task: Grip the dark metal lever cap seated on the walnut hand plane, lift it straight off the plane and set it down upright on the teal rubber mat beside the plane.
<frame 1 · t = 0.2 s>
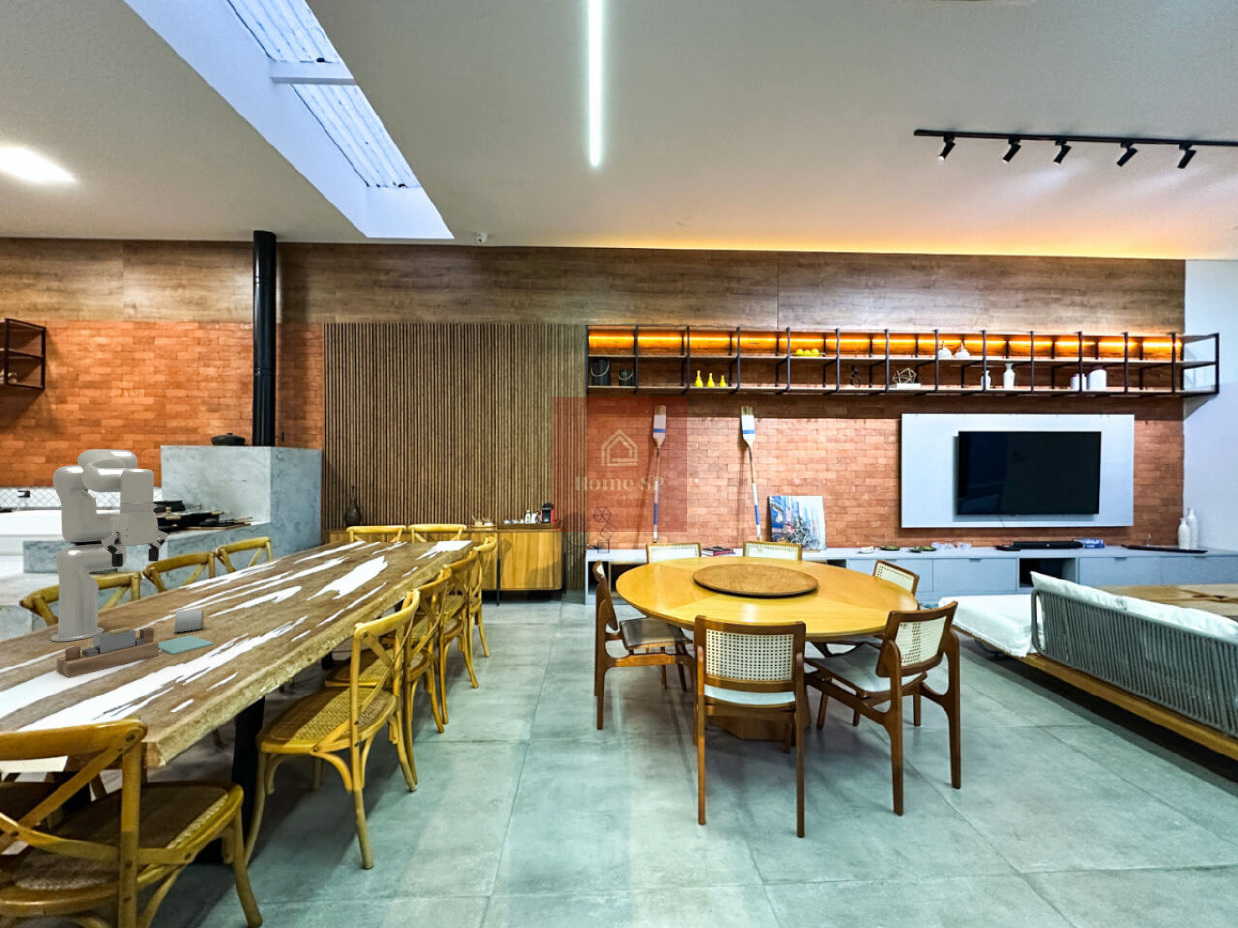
hand: (135, 563, 157), 30 cm above the table, tool pointing down, fingers open, 9 cm apart
lever cap: (114, 649, 155), point 4 cm above the table, touching plane body
mat: (182, 645, 170), on the table
ceramic mug: (188, 630, 186), on the table
plane body: (109, 663, 154), on the table
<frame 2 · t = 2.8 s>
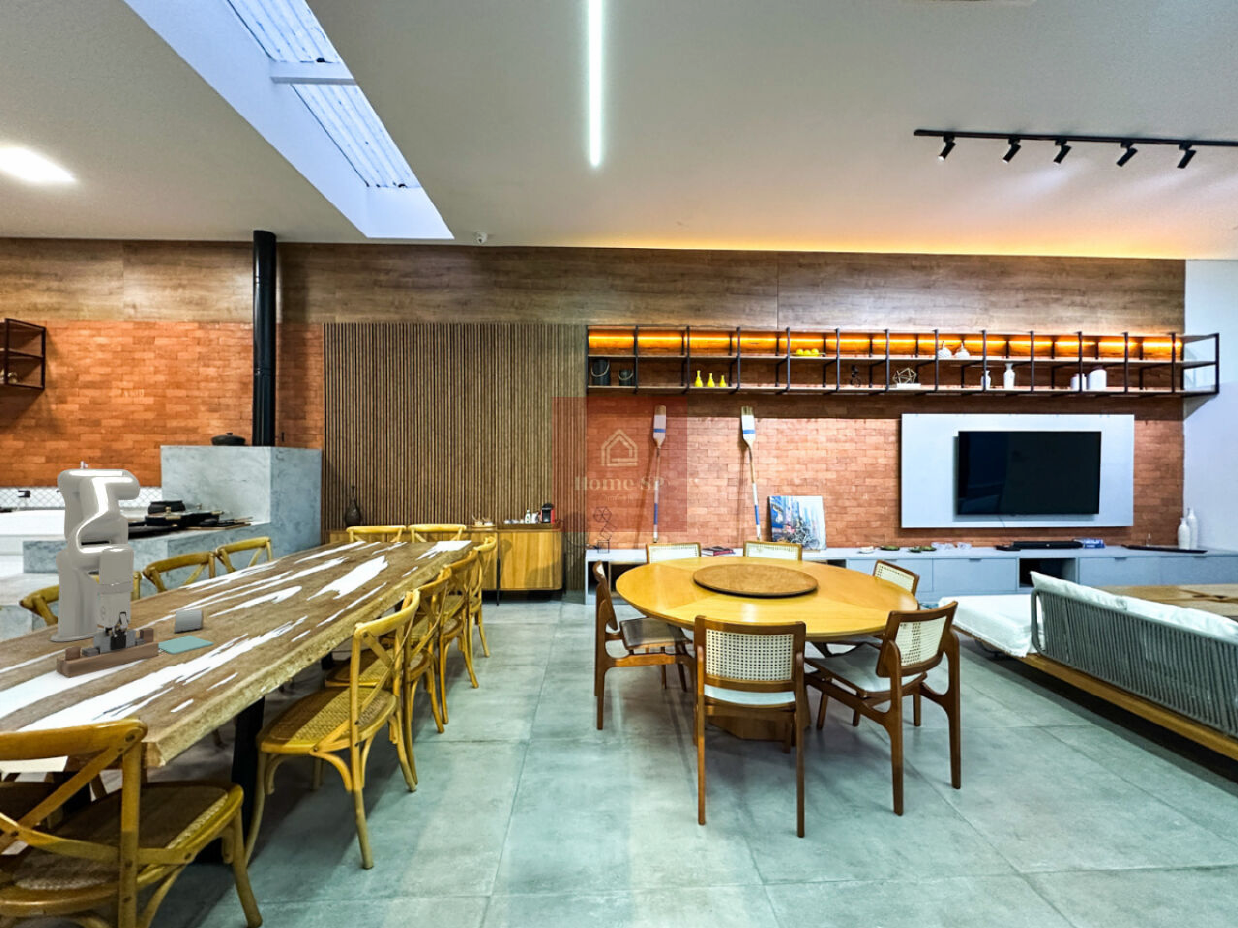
hand: (114, 646, 155), 5 cm above the table, tool pointing down, fingers closed on lever cap, 5 cm apart
lever cap: (114, 649, 155), point 4 cm above the table, touching gripper, plane body
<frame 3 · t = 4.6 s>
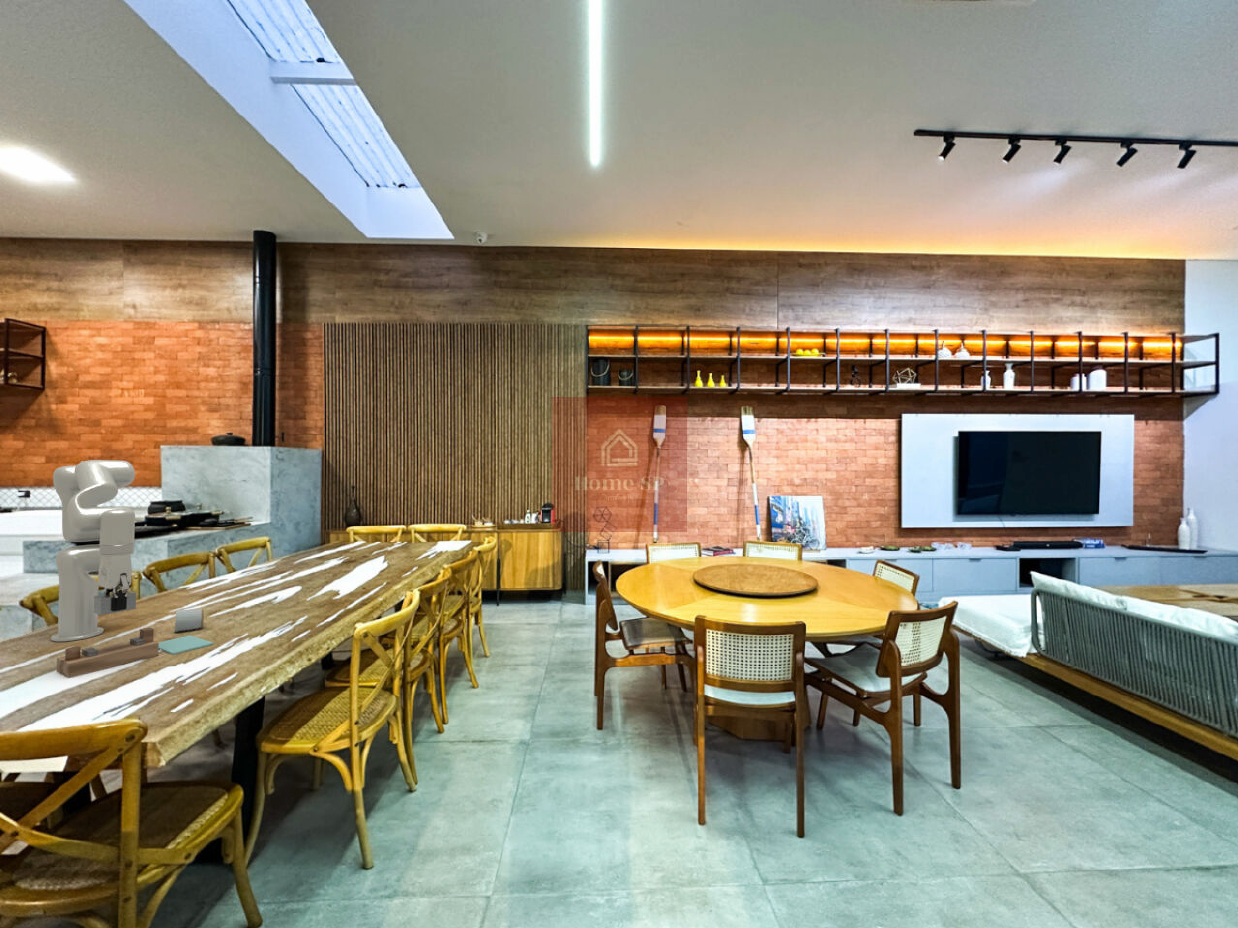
hand: (115, 608, 155), 16 cm above the table, tool pointing down, fingers closed on lever cap, 5 cm apart
lever cap: (115, 610, 155), point 16 cm above the table, touching gripper
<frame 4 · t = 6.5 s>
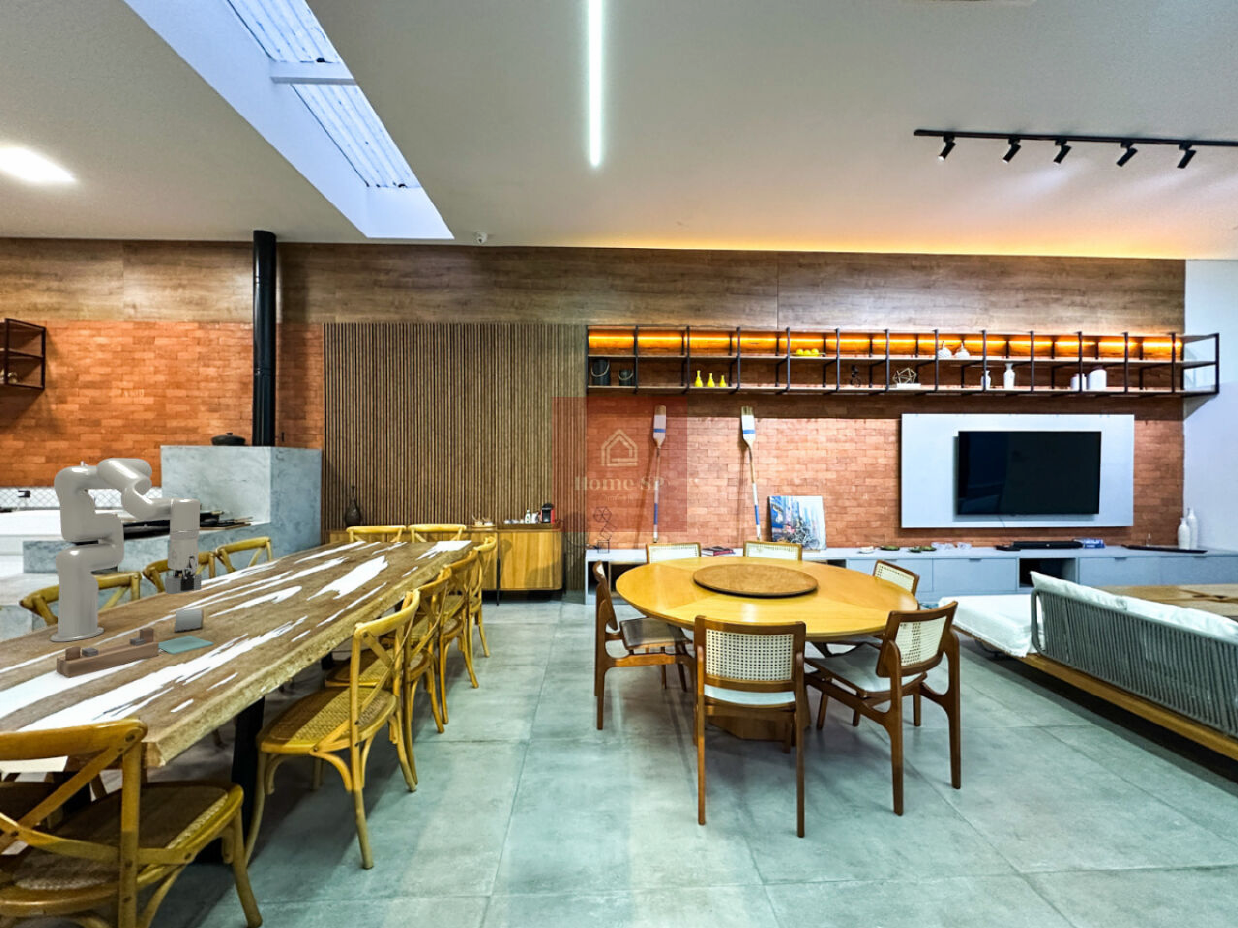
hand: (183, 588, 170), 19 cm above the table, tool pointing down, fingers closed on lever cap, 5 cm apart
lever cap: (183, 590, 170), point 18 cm above the table, touching gripper
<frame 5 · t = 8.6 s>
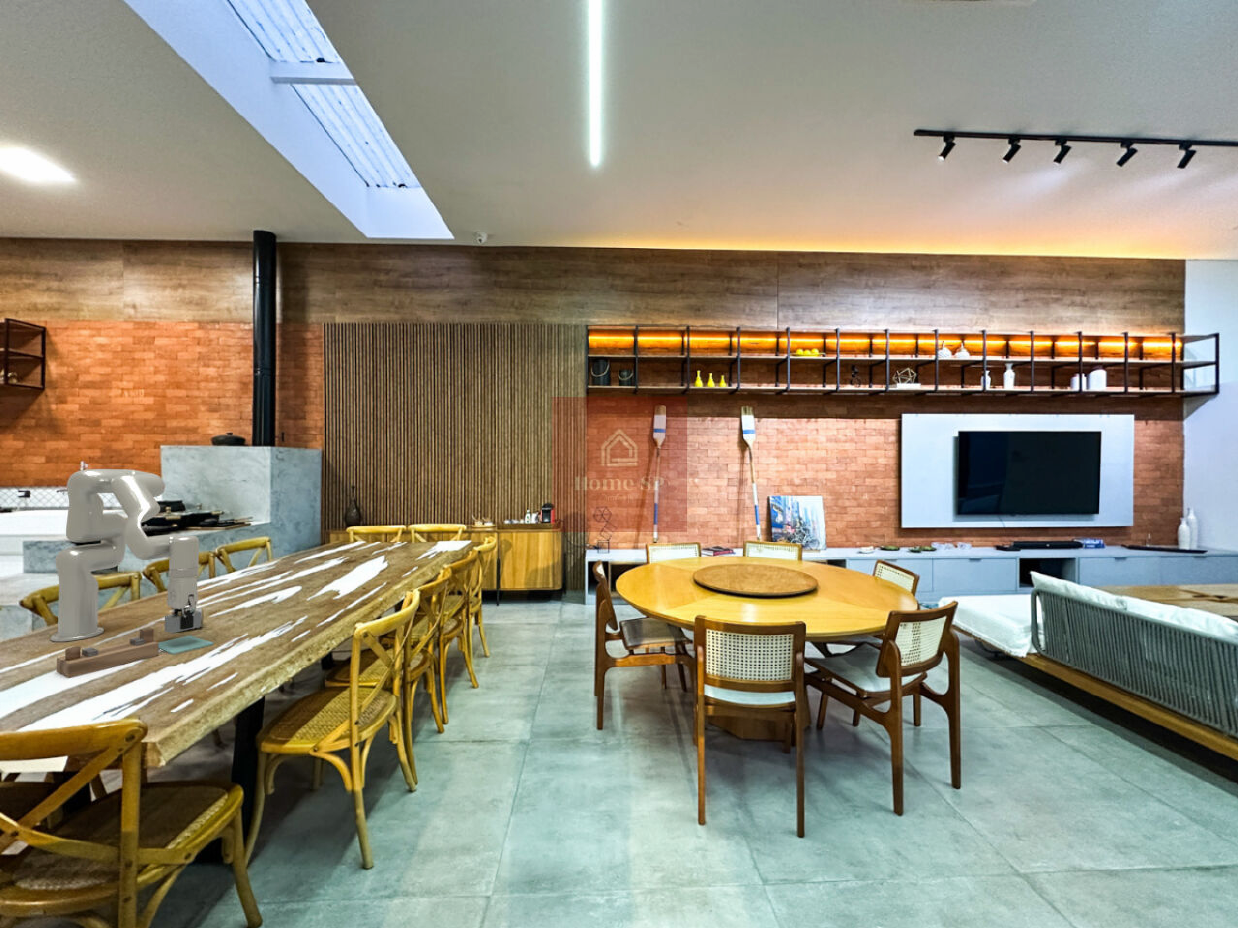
hand: (182, 626, 170), 6 cm above the table, tool pointing down, fingers closed on lever cap, 5 cm apart
lever cap: (182, 628, 170), point 6 cm above the table, touching gripper
when the fingers open (2 cm above the table, at t = 10.3 s): lever cap stays where it is, resting on mat.
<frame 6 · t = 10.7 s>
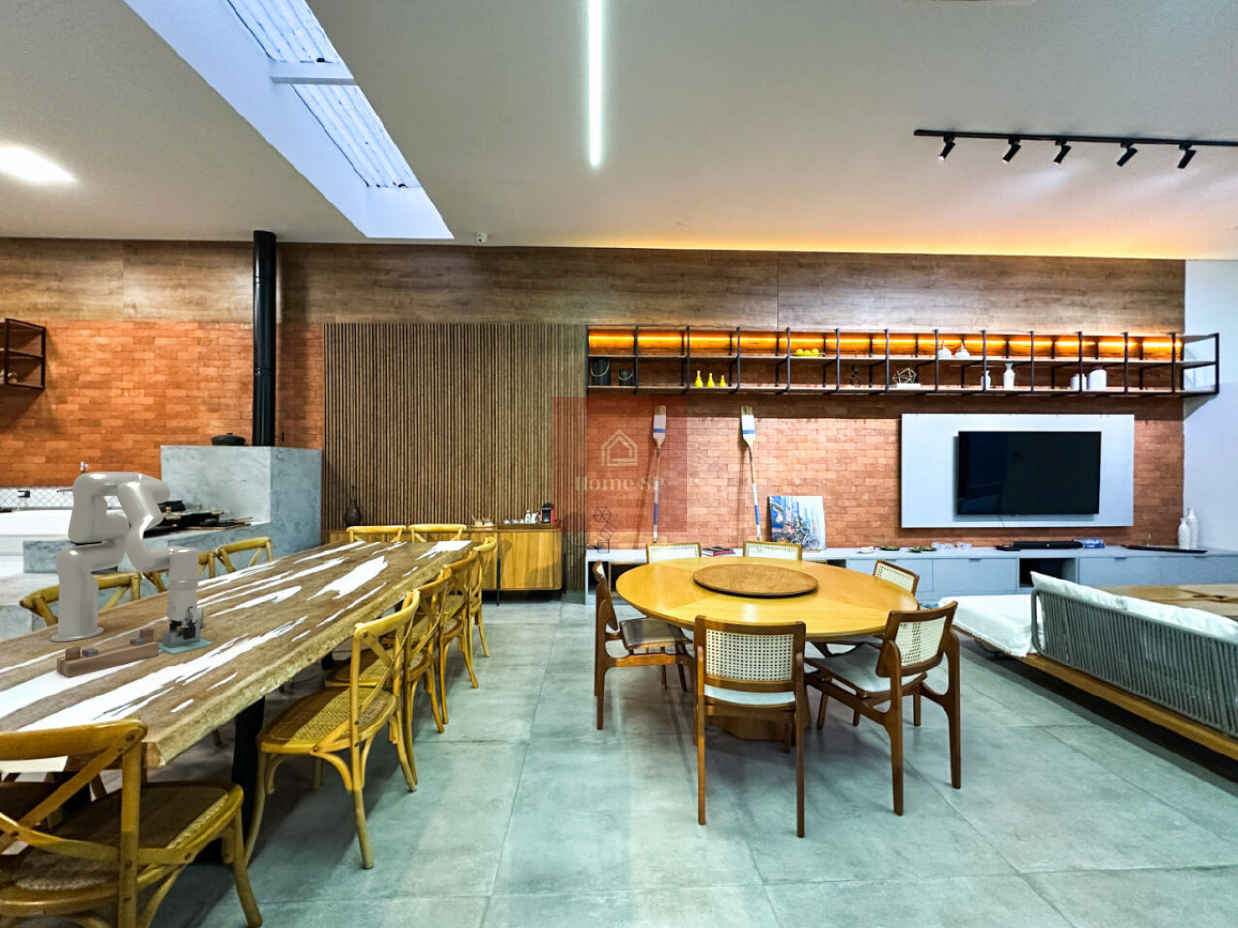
hand: (182, 636, 170), 3 cm above the table, tool pointing down, fingers open, 9 cm apart
lever cap: (181, 643, 170), point 1 cm above the table, touching mat
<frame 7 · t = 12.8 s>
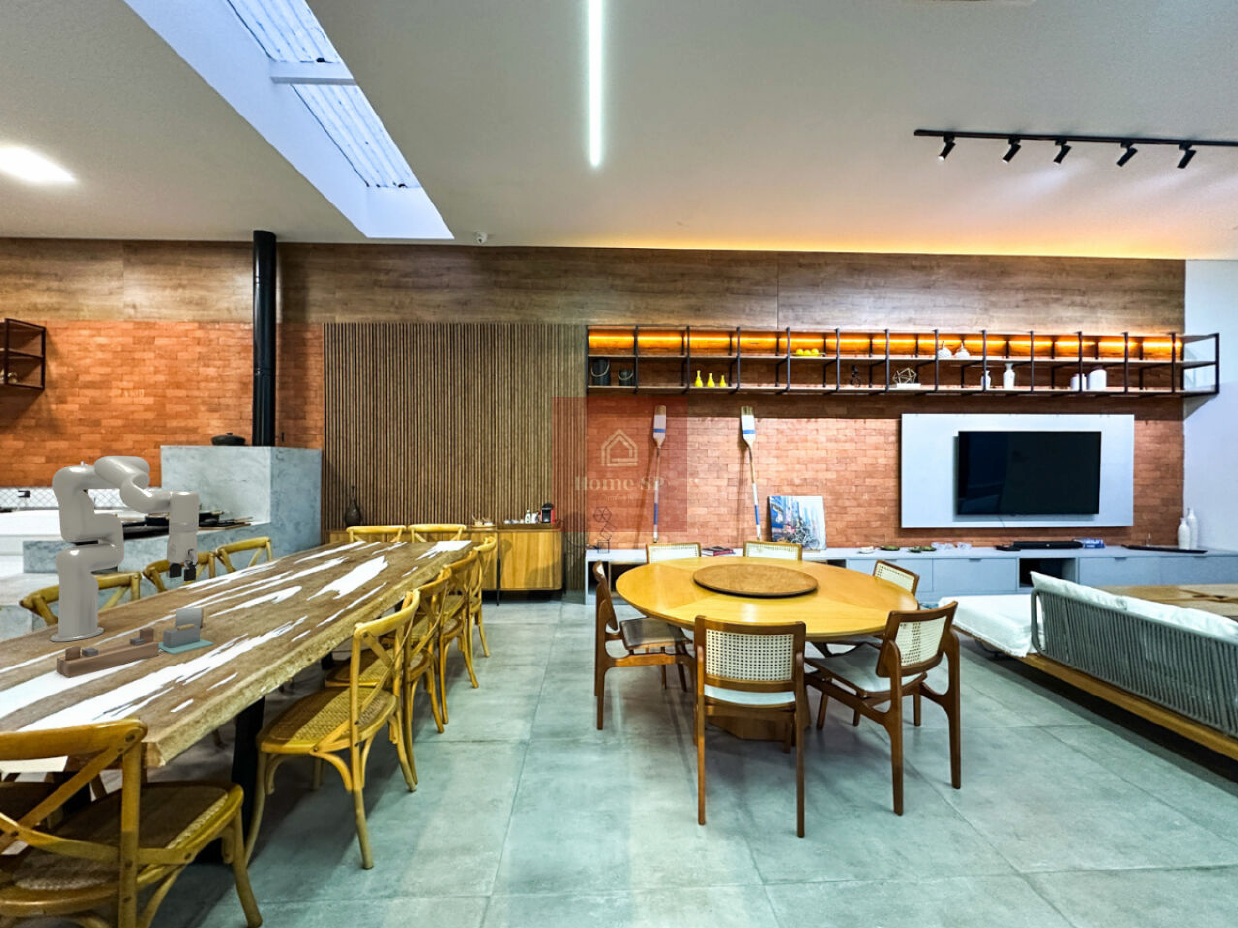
hand: (182, 578, 170), 22 cm above the table, tool pointing down, fingers open, 9 cm apart
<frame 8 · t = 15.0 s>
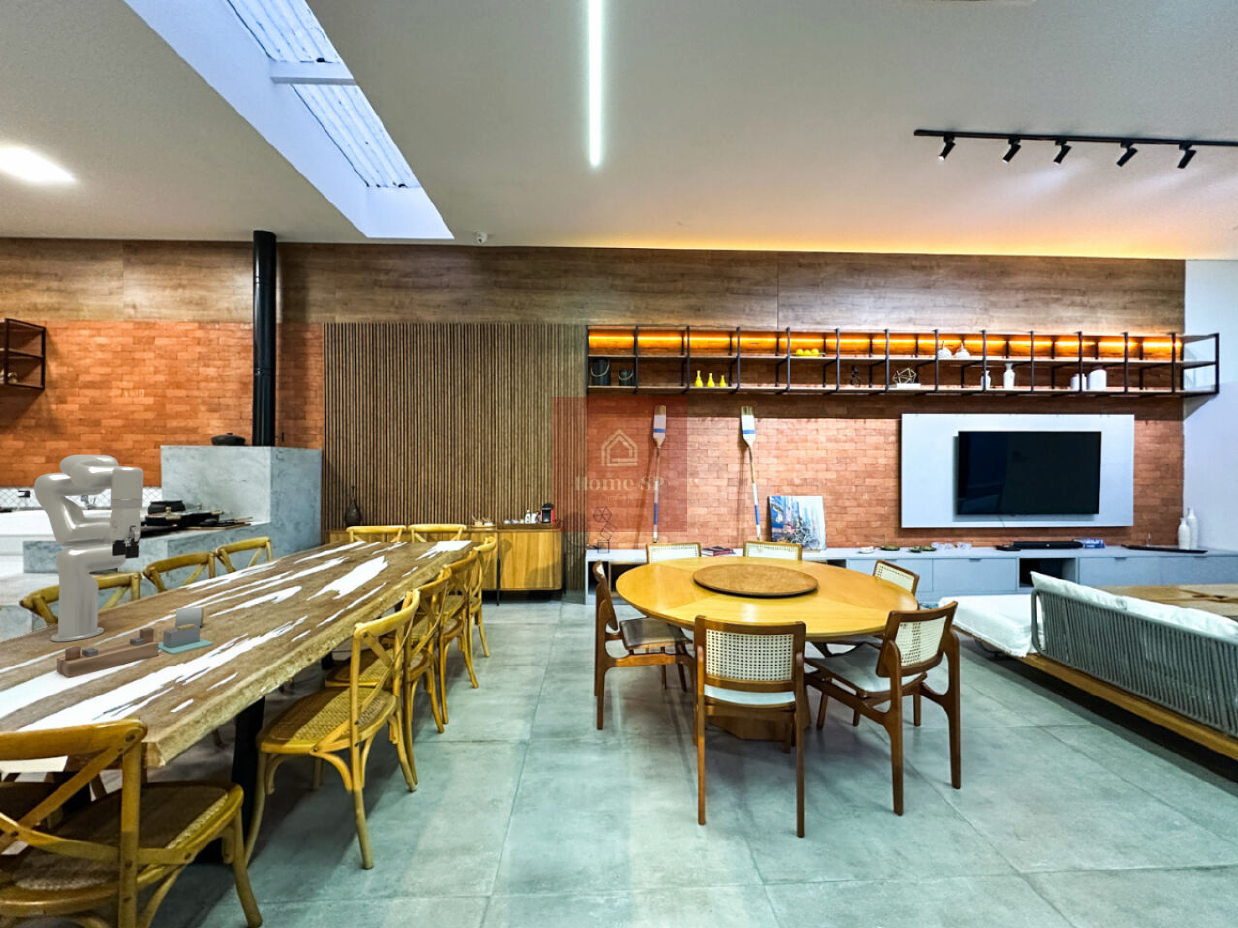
hand: (125, 556, 166), 30 cm above the table, tool pointing down, fingers open, 9 cm apart
at the end: lever cap inside the target area on the mat (0.1 cm from its centre), point 0.6 cm above the mat's base; lever cap tilted 0°; the gripper is holding nothing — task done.
